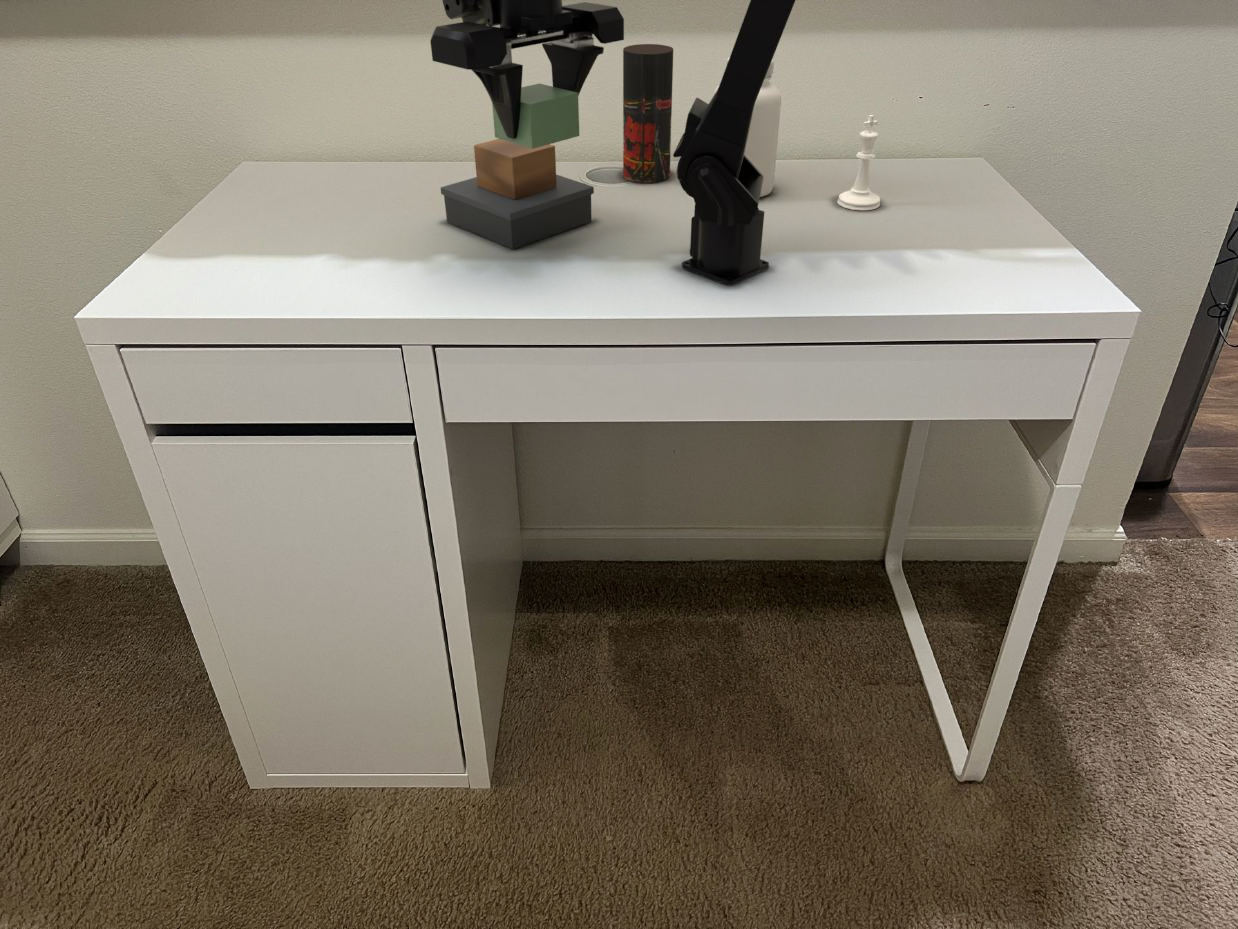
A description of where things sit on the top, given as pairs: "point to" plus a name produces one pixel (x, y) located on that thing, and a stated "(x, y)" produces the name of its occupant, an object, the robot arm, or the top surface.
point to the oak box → (515, 168)
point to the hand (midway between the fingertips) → (537, 131)
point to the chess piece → (863, 174)
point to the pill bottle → (764, 131)
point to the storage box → (518, 211)
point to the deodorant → (647, 112)
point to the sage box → (543, 116)
